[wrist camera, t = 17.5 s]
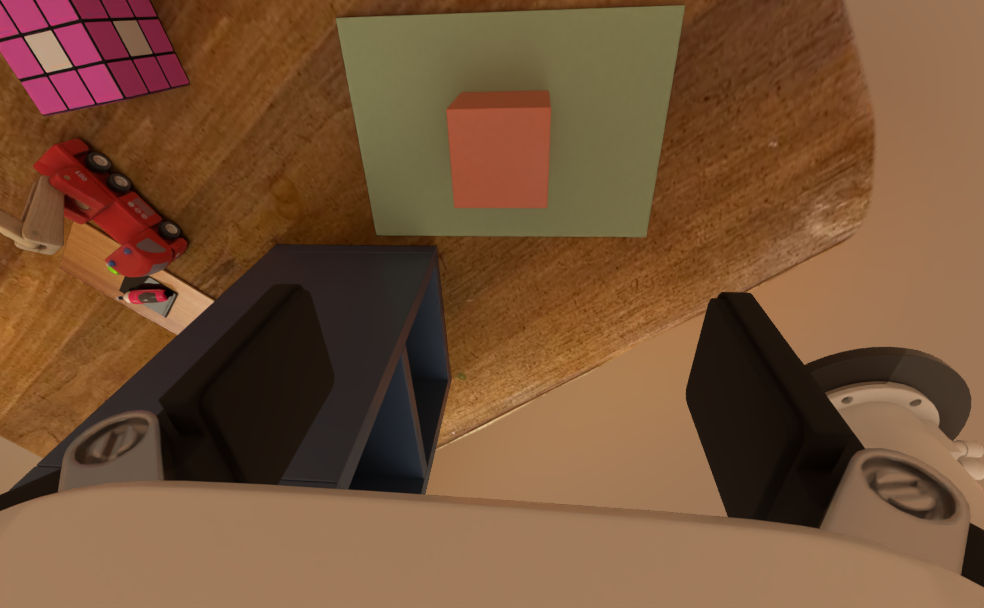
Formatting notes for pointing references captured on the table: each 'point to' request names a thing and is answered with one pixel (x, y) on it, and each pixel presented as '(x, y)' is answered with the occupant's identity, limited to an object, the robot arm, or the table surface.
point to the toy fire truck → (92, 211)
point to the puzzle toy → (87, 51)
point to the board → (132, 281)
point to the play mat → (514, 67)
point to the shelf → (333, 364)
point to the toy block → (500, 149)
